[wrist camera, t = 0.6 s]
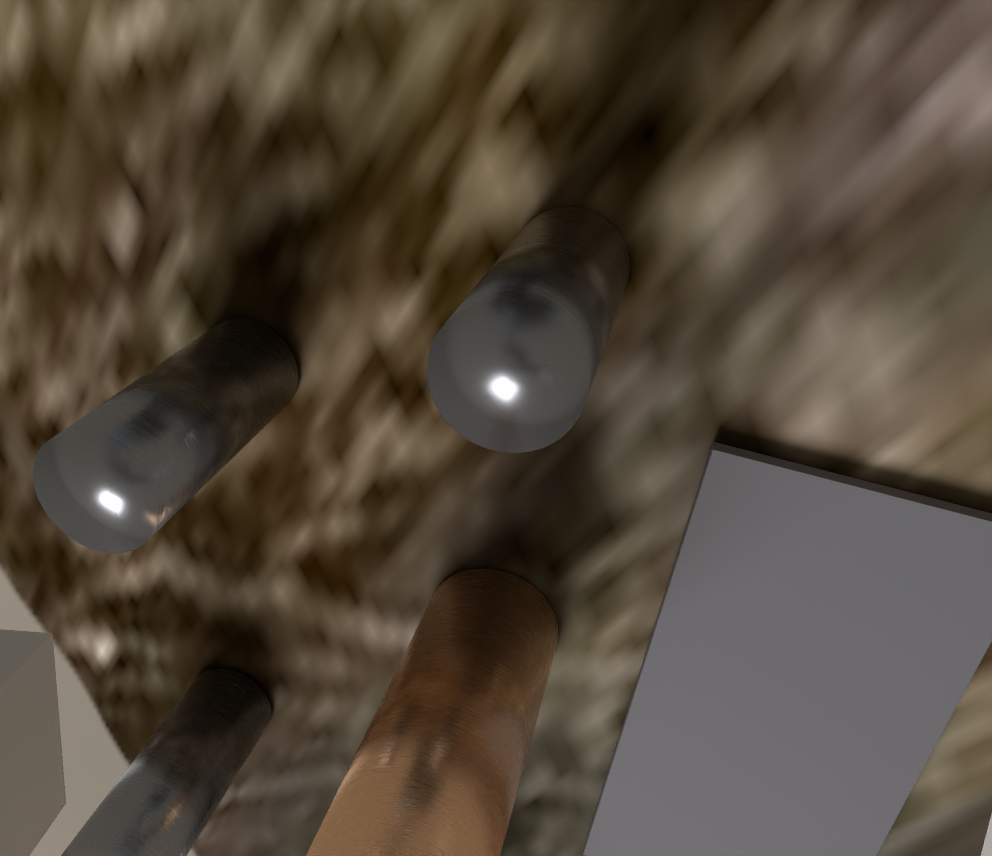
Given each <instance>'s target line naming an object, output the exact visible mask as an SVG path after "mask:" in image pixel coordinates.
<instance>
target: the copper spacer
mask: <svg viewBox="0 0 992 856" xmlns="http://www.w3.org/2000/svg"><path fill="white" fill-rule="evenodd" d="M557 642H558V623H557V619H556V616H555V614H554V611H553V609H552V607H551V606H550V604H549V603H548V601H547V600H546V599H545V597H544V596H543V595H542V594H541V593H540V592H539V591H538V590H537V589H536V588H535V587H533V586H532V585H531V584H529V583H528V582H526V581H524V580H523V579H521V578H519V577H517V576H515V575H512V574H509V573H507V572H503V571H499V570H493V569H472V570H467V571H463V572H460V573H457V574H455V575H453V576H451V577H450V578H448V579H447V580H445V581H444V582H443V583H442V584H441V585H440V586H439V587H438V588H437V590H436V591H435V593H434V594H433V596H432V598H431V600H430V602H429V605H428V607H427V609H426V611H425V613H424V615H423V617H422V619H421V621H420V623H419V625H418V627H417V629H416V631H415V633H414V635H413V637H412V639H411V641H410V644H409V646H408V648H407V650H406V652H405V654H404V656H403V658H402V660H401V662H400V664H399V666H398V668H397V670H396V672H395V674H394V676H393V678H392V680H391V683H390V685H389V687H388V689H387V691H386V693H385V695H384V697H383V699H382V701H381V703H380V705H379V707H378V709H377V711H376V713H375V715H374V717H373V719H372V721H371V724H370V726H369V728H368V730H367V732H366V734H365V736H364V738H363V740H362V742H361V744H360V746H359V748H358V750H357V752H356V754H355V756H354V758H353V760H352V763H351V765H350V767H349V769H348V771H347V773H346V775H345V777H344V779H343V781H342V783H341V785H340V787H339V789H338V791H337V793H336V795H335V797H334V799H333V802H332V804H331V806H330V808H329V810H328V812H327V814H326V816H325V818H324V820H323V822H322V824H321V826H320V828H319V830H318V832H317V834H316V836H315V838H314V840H313V843H312V845H311V847H310V849H309V851H308V853H307V855H306V856H500V854H501V851H502V847H503V843H504V839H505V836H506V832H507V828H508V825H509V821H510V817H511V813H512V810H513V806H514V802H515V799H516V795H517V791H518V787H519V784H520V780H521V776H522V773H523V769H524V765H525V761H526V758H527V754H528V750H529V747H530V743H531V739H532V735H533V732H534V728H535V724H536V721H537V717H538V713H539V709H540V706H541V702H542V698H543V695H544V691H545V687H546V683H547V680H548V676H549V672H550V669H551V665H552V661H553V657H554V654H555V650H556V646H557Z"/></svg>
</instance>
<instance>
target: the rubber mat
mask: <svg viewBox="0 0 992 856" xmlns="http://www.w3.org/2000/svg"><path fill="white" fill-rule="evenodd" d="M991 641H992V513H988V512H984V511H980V510H977V509H973V508H969V507H965V506H961V505H957V504H953V503H949V502H945V501H942V500H938V499H934V498H930V497H926V496H922V495H918V494H914V493H911V492H907V491H903V490H899V489H895V488H891V487H887V486H883V485H879V484H876V483H872V482H868V481H864V480H860V479H856V478H852V477H848V476H845V475H841V474H837V473H833V472H829V471H825V470H821V469H817V468H813V467H810V466H806V465H802V464H798V463H794V462H790V461H786V460H782V459H779V458H775V457H771V456H767V455H763V454H759V453H755V452H751V451H747V450H744V449H740V448H736V447H732V446H728V445H724V444H720V443H716V442H713V444H712V447H711V450H710V454H709V457H708V460H707V463H706V466H705V469H704V472H703V476H702V479H701V482H700V485H699V488H698V491H697V494H696V497H695V501H694V504H693V507H692V510H691V513H690V516H689V519H688V523H687V526H686V529H685V532H684V535H683V538H682V541H681V544H680V548H679V551H678V554H677V557H676V560H675V563H674V566H673V570H672V573H671V576H670V579H669V582H668V585H667V588H666V591H665V595H664V598H663V601H662V604H661V607H660V610H659V613H658V616H657V620H656V623H655V626H654V629H653V632H652V635H651V638H650V642H649V645H648V648H647V651H646V654H645V657H644V660H643V663H642V667H641V670H640V673H639V676H638V679H637V682H636V685H635V689H634V692H633V695H632V698H631V701H630V704H629V707H628V710H627V714H626V717H625V720H624V723H623V726H622V729H621V732H620V736H619V739H618V742H617V745H616V748H615V751H614V754H613V757H612V761H611V764H610V767H609V770H608V773H607V776H606V779H605V783H604V786H603V789H602V792H601V795H600V798H599V801H598V804H597V808H596V811H595V814H594V817H593V820H592V823H591V826H590V830H589V833H588V836H587V839H586V842H585V847H584V852H583V855H586V856H876V855H877V853H878V851H879V849H880V847H881V846H882V844H883V842H884V840H885V838H886V836H887V834H888V833H889V831H890V829H891V827H892V825H893V823H894V821H895V820H896V818H897V816H898V814H899V812H900V810H901V808H902V807H903V805H904V803H905V801H906V799H907V797H908V795H909V794H910V792H911V790H912V788H913V786H914V784H915V782H916V781H917V779H918V777H919V775H920V773H921V771H922V769H923V768H924V766H925V764H926V762H927V760H928V758H929V756H930V755H931V753H932V751H933V749H934V747H935V745H936V743H937V742H938V740H939V738H940V736H941V734H942V732H943V730H944V729H945V727H946V725H947V723H948V721H949V719H950V717H951V716H952V714H953V712H954V710H955V708H956V706H957V704H958V703H959V701H960V699H961V697H962V695H963V693H964V691H965V690H966V688H967V686H968V684H969V682H970V680H971V678H972V677H973V675H974V673H975V671H976V669H977V667H978V665H979V664H980V662H981V660H982V658H983V656H984V654H985V652H986V651H987V649H988V647H989V645H990V643H991Z"/></svg>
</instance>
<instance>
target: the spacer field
mask: <svg viewBox="0 0 992 856" xmlns="http://www.w3.org/2000/svg"><path fill="white" fill-rule="evenodd" d="M629 274H630V258H629V253H628V249H627V246H626V244H625V241H624V239H623V237H622V236H621V234H620V233H619V231H618V230H617V229H616V227H615V226H614V225H613V224H612V223H611V222H610V221H608V220H607V219H606V218H605V217H603V216H601V215H600V214H598V213H596V212H594V211H592V210H589V209H586V208H582V207H575V206H564V207H557V208H553V209H550V210H547V211H545V212H543V213H541V214H539V215H537V216H536V217H535V218H533V219H532V220H531V221H530V222H529V223H528V224H527V225H526V226H525V227H524V228H523V230H522V231H521V232H520V233H519V235H518V236H517V237H516V238H515V239H514V241H513V242H512V243H511V244H510V245H509V247H508V248H507V249H506V250H505V252H504V253H503V254H502V255H501V256H500V258H499V259H498V260H497V261H496V262H495V264H494V265H493V266H492V267H491V268H490V270H489V271H488V272H487V273H486V275H485V276H484V277H483V278H482V279H481V281H480V282H479V283H478V284H477V285H476V287H475V288H474V289H473V290H472V292H471V293H470V294H469V295H468V296H467V298H466V299H465V300H464V301H463V302H462V304H461V305H460V306H459V307H458V309H457V310H456V311H455V312H454V313H453V315H452V316H451V317H450V318H449V319H448V321H447V322H446V323H445V324H444V326H443V327H442V328H441V330H440V331H439V332H438V334H437V336H436V337H435V339H434V341H433V343H432V346H431V349H430V352H429V357H428V364H427V377H428V384H429V389H430V392H431V395H432V398H433V400H434V402H435V404H436V406H437V408H438V410H439V411H440V413H441V415H442V416H443V417H444V419H445V420H446V421H447V422H448V423H449V425H451V426H452V427H453V428H454V429H455V430H456V431H457V432H458V433H459V434H461V435H462V436H463V437H465V438H466V439H468V440H470V441H471V442H473V443H475V444H477V445H479V446H482V447H484V448H487V449H490V450H494V451H499V452H506V453H524V452H530V451H535V450H538V449H541V448H544V447H546V446H548V445H551V444H552V443H554V442H556V441H557V440H559V439H560V438H561V437H563V436H564V435H565V434H566V433H567V432H568V431H569V430H570V429H571V428H572V427H573V426H574V424H575V423H576V421H577V420H578V418H579V416H580V414H581V412H582V410H583V407H584V405H585V402H586V399H587V396H588V393H589V390H590V388H591V385H592V382H593V379H594V376H595V374H596V371H597V368H598V365H599V362H600V359H601V357H602V354H603V351H604V348H605V345H606V343H607V340H608V337H609V334H610V331H611V328H612V326H613V323H614V320H615V317H616V314H617V312H618V309H619V306H620V303H621V300H622V297H623V295H624V292H625V289H626V286H627V283H628V280H629ZM297 385H298V368H297V364H296V361H295V358H294V355H293V353H292V352H291V350H290V348H289V346H288V345H287V344H286V342H285V341H284V340H283V339H282V338H281V337H280V336H279V335H278V334H277V333H276V332H275V331H274V330H272V329H271V328H269V327H268V326H266V325H264V324H262V323H260V322H257V321H254V320H250V319H244V318H235V319H229V320H226V321H223V322H221V323H219V324H218V325H216V326H215V327H213V328H212V329H210V330H209V331H207V332H206V333H205V334H203V335H202V336H200V337H199V338H197V339H196V340H194V341H193V342H191V343H190V344H189V345H187V346H186V347H184V348H183V349H181V350H180V351H178V352H177V353H175V354H174V355H173V356H171V357H170V358H168V359H167V360H165V361H164V362H162V363H161V364H159V365H158V366H157V367H155V368H154V369H152V370H151V371H149V372H148V373H146V374H145V375H143V376H142V377H140V378H139V379H138V380H136V381H135V382H133V383H132V384H130V385H129V386H127V387H126V388H124V389H123V390H122V391H120V392H119V393H117V394H116V395H114V396H113V397H111V398H110V399H108V400H107V401H106V402H104V403H103V404H101V405H100V406H98V407H97V408H95V409H94V410H92V411H91V412H90V413H88V414H87V415H85V416H84V417H82V418H81V419H79V420H78V421H76V422H75V423H74V424H72V425H71V426H69V427H68V428H66V429H65V430H63V431H62V432H60V433H59V434H58V435H56V436H55V437H53V438H52V439H50V440H49V441H48V442H46V443H45V444H44V445H43V446H42V447H41V449H40V450H39V452H38V454H37V455H36V458H35V461H34V466H33V482H34V487H35V491H36V494H37V496H38V499H39V501H40V503H41V505H42V507H43V509H44V510H45V512H46V513H47V515H48V516H49V517H50V519H51V520H52V521H53V522H54V523H55V524H56V525H57V527H58V528H59V529H61V530H62V531H63V532H64V533H65V534H66V535H68V536H69V537H70V538H72V539H73V540H75V541H77V542H78V543H80V544H82V545H84V546H86V547H88V548H91V549H94V550H97V551H101V552H106V553H124V552H129V551H132V550H134V549H136V548H138V547H140V546H141V545H143V544H144V543H145V542H146V541H147V540H148V539H149V538H150V537H151V536H153V535H154V534H155V533H156V532H157V531H158V530H159V529H160V528H161V527H162V526H163V525H164V524H165V523H166V522H167V521H168V520H169V519H170V518H171V517H172V516H173V515H174V514H175V513H176V512H177V511H178V510H179V509H180V508H181V507H182V506H183V505H184V504H185V503H187V502H188V501H189V500H190V499H191V498H192V497H193V496H194V495H195V494H196V493H197V492H198V491H199V490H200V489H201V488H202V487H203V486H204V485H205V484H206V483H207V482H208V481H209V480H210V479H211V478H212V477H213V476H214V475H215V474H216V473H217V472H218V471H220V470H221V469H222V468H223V467H224V466H225V465H226V464H227V463H228V462H229V461H230V460H231V459H232V458H233V457H234V456H235V455H236V454H237V453H238V452H239V451H240V450H241V449H242V448H243V447H244V446H245V445H246V444H247V443H248V442H249V441H250V440H251V439H252V438H254V437H255V436H256V435H257V434H258V433H259V432H260V431H261V430H262V429H263V428H264V427H265V426H266V425H267V424H268V423H269V422H270V421H271V420H272V419H273V418H274V417H275V416H276V415H277V414H278V413H279V412H280V411H281V410H282V409H283V408H284V407H285V406H286V405H287V404H288V403H289V402H290V401H291V400H292V398H293V396H294V394H295V392H296V389H297ZM270 719H271V706H270V703H269V700H268V698H267V696H266V695H265V693H264V692H263V690H262V689H261V688H260V687H259V686H258V685H257V684H256V683H255V682H254V681H252V680H251V679H250V678H248V677H247V676H245V675H243V674H241V673H239V672H236V671H233V670H229V669H223V668H216V669H210V670H207V671H204V672H203V673H201V674H200V675H199V676H198V677H197V678H196V680H195V681H194V682H193V683H192V685H191V686H190V687H189V689H188V690H187V691H186V693H185V694H184V695H183V697H182V698H181V699H180V700H179V702H178V703H177V704H176V706H175V707H174V708H173V710H172V711H171V712H170V714H169V715H168V716H167V718H166V719H165V720H164V721H163V723H162V724H161V725H160V727H159V728H158V729H157V731H156V732H155V733H154V735H153V736H152V737H151V738H150V740H149V741H148V742H147V744H146V745H145V746H144V748H143V749H142V750H141V752H140V753H139V754H138V756H137V757H136V758H135V759H134V761H133V762H132V763H131V765H130V766H129V767H128V769H127V770H126V771H125V773H124V774H123V776H122V777H121V778H120V779H119V780H118V782H117V783H116V784H115V786H114V787H113V788H112V790H111V791H110V792H109V794H108V795H107V796H106V797H105V799H104V800H103V801H102V803H101V804H100V805H99V807H98V808H97V809H96V811H95V812H94V813H93V815H92V816H91V817H90V819H89V820H88V821H87V822H86V824H85V825H84V826H83V828H82V829H81V830H80V832H79V833H78V834H77V836H76V837H75V838H74V840H73V841H72V842H71V844H70V845H69V846H68V847H67V849H66V850H65V851H64V853H63V854H62V856H187V854H188V852H189V851H190V849H191V848H192V846H193V844H194V843H195V841H196V840H197V838H198V836H199V835H200V833H201V832H202V830H203V828H204V827H205V825H206V824H207V822H208V820H209V819H210V817H211V815H212V814H213V812H214V811H215V809H216V807H217V806H218V804H219V803H220V801H221V799H222V798H223V796H224V795H225V793H226V791H227V790H228V788H229V787H230V785H231V783H232V782H233V780H234V779H235V777H236V775H237V774H238V772H239V770H240V769H241V767H242V766H243V764H244V762H245V761H246V759H247V758H248V756H249V754H250V753H251V751H252V750H253V748H254V746H255V745H256V743H257V742H258V740H259V738H260V737H261V735H262V734H263V732H264V730H265V729H266V727H267V725H268V724H269V722H270Z"/></svg>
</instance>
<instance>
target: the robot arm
mask: <svg viewBox="0 0 992 856" xmlns="http://www.w3.org/2000/svg"><path fill="white" fill-rule="evenodd" d="M58 710H59V709H58V697H57V684H56V672H55V659H54V647H53V634H52V633H41V632H27V631H13V630H0V856H30V854H31V853H32V851H33V850H34V848H35V847H36V845H37V844H38V843H39V841H40V840H41V838H42V837H43V835H44V834H45V833H46V831H47V830H48V828H49V827H50V825H51V824H52V822H53V821H54V820H55V818H56V817H57V815H58V814H59V813H60V811H61V810H62V808H63V807H64V805H65V804H66V797H65V785H64V772H63V760H62V747H61V735H60V722H59V711H58ZM981 856H992V815H991V819H990V822H989V826H988V830H987V834H986V838H985V842H984V845H983V849H982V853H981Z"/></svg>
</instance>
